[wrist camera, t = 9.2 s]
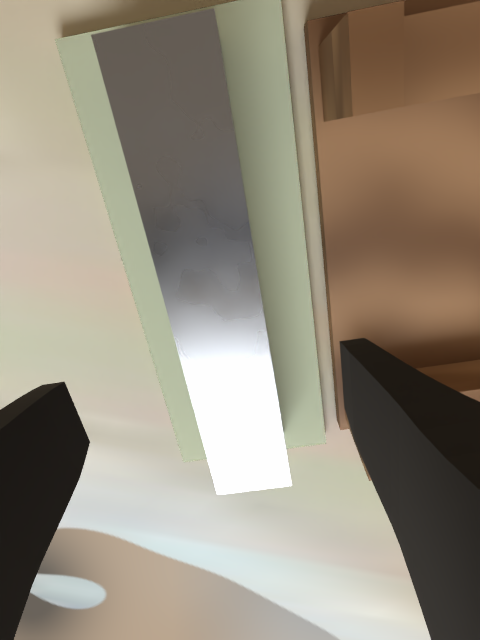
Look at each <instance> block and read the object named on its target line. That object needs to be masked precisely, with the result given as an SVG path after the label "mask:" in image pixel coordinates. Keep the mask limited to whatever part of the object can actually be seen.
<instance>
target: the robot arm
mask: <svg viewBox="0 0 480 640" xmlns="http://www.w3.org/2000/svg"><path fill="white" fill-rule="evenodd" d="M339 342H340V355H341V369H342V382H343V396H344V408H345V411H346V415H347V418H348V422H349V425H350V428H351V431H352V435H353V438H354V441H355V444H356V446H357V448H358V451H359V453H360V455H361V457H362V460H363V462H364V464H365V466H366V469H367V471H368V473H369V475H370V478H371V480H372V482H373V484H374V486H375V489H376V491H377V493H378V495H379V498H380V500H381V502H382V504H383V506H384V509H385V511H386V513H387V515H388V518H389V520H390V522H391V524H392V527H393V529H394V532H395V534H396V537H397V539H398V542H399V544H400V547H401V550H402V553H403V556H404V559H405V562H406V565H407V568H408V570H409V573H410V576H411V579H412V582H413V585H414V588H415V591H416V594H417V597H418V600H419V603H420V606H421V609H422V612H423V615H424V619H425V622H426V625H427V628H428V631H429V634H430V637H431V640H480V402H479V401H477V400H475V399H473V398H470V397H468V396H466V395H464V394H462V393H460V392H458V391H456V390H454V389H452V388H450V387H448V386H446V385H444V384H442V383H440V382H438V381H436V380H435V379H433V378H431V377H429V376H427V375H425V374H424V373H422V372H420V371H418V370H417V369H415V368H413V367H412V366H410V365H408V364H406V363H405V362H403V361H402V360H400V359H398V358H397V357H395V356H393V355H392V354H390V353H389V352H387V351H385V350H384V349H382V348H381V347H379V346H377V345H376V344H374V343H373V342H371V341H369V340H368V339H366V338H358V339H352V340H345V341H339ZM89 443H90V441H89V439H88V436H87V434H86V432H85V429H84V427H83V425H82V422H81V420H80V417H79V415H78V413H77V410H76V408H75V406H74V403H73V401H72V398H71V396H70V394H69V391H68V389H67V387H66V384H65V382H60V383H53V384H46V385H42V386H40V387H38V388H36V389H34V390H32V391H30V392H28V393H27V394H25V395H23V396H21V397H20V398H18V399H17V400H15V401H13V402H12V403H10V404H9V405H7V406H6V407H4V408H3V409H1V410H0V640H14V637H15V634H16V631H17V627H18V625H19V622H20V619H21V616H22V613H23V610H24V607H25V604H26V601H27V599H28V596H29V593H30V590H31V587H32V584H33V582H34V579H35V577H36V575H37V572H38V570H39V567H40V565H41V562H42V560H43V558H44V556H45V553H46V551H47V549H48V547H49V545H50V542H51V540H52V538H53V536H54V534H55V532H56V530H57V527H58V525H59V523H60V521H61V519H62V516H63V514H64V512H65V510H66V508H67V505H68V503H69V501H70V499H71V496H72V494H73V492H74V490H75V487H76V485H77V483H78V480H79V478H80V475H81V472H82V468H83V465H84V462H85V458H86V455H87V451H88V447H89Z"/></svg>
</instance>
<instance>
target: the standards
mask: <svg viewBox="0 0 480 640" xmlns="http://www.w3.org/2000/svg"><path fill="white" fill-rule="evenodd" d="M304 32H305V44H306V56H307V68H308V80H309V92H310V104H311V116H312V127H313V139H314V151H315V163H316V175H317V187H318V199H319V211H320V223H321V235H322V247H323V258H324V270H325V282H326V294H327V306H328V318H329V330H330V342H331V354H332V366H333V377H334V389H335V401H336V413H337V421H338V424H339V427H340V430H344V429H350V431H351V428H350V425H349V422H348V418H347V415H346V411H345V408H344V396H343V382H342V369H341V355H340V342H339V341H345V340H352V339H358V338H366V339H368V340H369V341H371V342H373V343H374V344H376V345H377V346H379V347H381V348H382V349H384V350H385V351H387V352H389V353H390V354H392V355H393V356H395V357H397V358H398V359H400V360H402V361H403V362H405V363H406V364H408V365H410V366H412V367H413V368H415V369H417V370H418V371H420V372H422V373H424V374H425V375H427V376H429V377H431V378H433V379H435V380H436V381H438V382H440V383H442V384H444V385H446V386H448V387H450V388H452V389H454V390H456V391H458V392H460V393H462V394H464V395H466V396H468V397H470V398H473V399H475V400H477V401H479V402H480V0H405V1H404V0H402V1H397V2H392V3H388V4H383V5H378V6H373V7H368V8H363V9H359V10H354V11H349V12H347V13H342V14H338V15H333V16H328V17H323V18H318V19H313V20H309V21H307V22H306V24H305V26H304ZM351 434H352V431H351ZM352 436H353V435H352ZM353 439H354V438H353ZM354 442H355V441H354ZM356 447H357V446H356ZM357 450H358V448H357ZM358 452H359V451H358ZM359 455H360V453H359ZM360 458H361V460H362V457H361V455H360ZM362 463H363V466H364V468H365V471H366V474H367V476H368V479H369V481H371V478H370V475H369V473H368V471H367V469H366V466H365V464H364V462H363V460H362Z"/></svg>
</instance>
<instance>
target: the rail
mask: <svg viewBox="0 0 480 640" xmlns="http://www.w3.org/2000/svg"><path fill="white" fill-rule="evenodd" d="M91 37H92V41H93V44H94V48H95V52H96V55H97V59H98V63H99V66H100V70H101V73H102V77H103V81H104V84H105V88H106V92H107V95H108V99H109V103H110V106H111V110H112V114H113V117H114V121H115V124H116V128H117V132H118V135H119V139H120V143H121V146H122V150H123V154H124V157H125V161H126V165H127V168H128V172H129V175H130V179H131V183H132V186H133V190H134V194H135V197H136V201H137V205H138V208H139V212H140V215H141V219H142V223H143V226H144V230H145V234H146V237H147V241H148V245H149V248H150V252H151V256H152V259H153V263H154V266H155V270H156V274H157V277H158V281H159V285H160V288H161V292H162V296H163V299H164V303H165V307H166V310H167V314H168V317H169V321H170V325H171V328H172V332H173V336H174V339H175V343H176V347H177V350H178V354H179V358H180V361H181V365H182V368H183V372H184V376H185V379H186V383H187V387H188V390H189V394H190V398H191V401H192V405H193V408H194V412H195V416H196V419H197V423H198V427H199V430H200V434H201V438H202V441H203V445H204V449H205V452H206V456H207V459H208V463H209V467H210V470H211V474H212V478H213V481H214V485H215V489H216V492H217V495H222V494H230V493H238V492H246V491H254V490H262V489H270V488H278V487H286V486H292V483H291V476H290V470H289V463H288V456H287V450H286V443H285V436H284V430H283V424H282V418H281V411H280V405H279V399H278V393H277V387H276V380H275V374H274V368H273V362H272V356H271V349H270V343H269V337H268V331H267V325H266V318H265V312H264V306H263V300H262V294H261V287H260V281H259V275H258V269H257V263H256V256H255V250H254V244H253V238H252V232H251V226H250V219H249V213H248V207H247V201H246V195H245V188H244V182H243V176H242V170H241V164H240V157H239V151H238V145H237V139H236V133H235V126H234V120H233V114H232V108H231V102H230V95H229V89H228V83H227V77H226V71H225V64H224V58H223V52H222V46H221V40H220V34H219V29H218V24H217V19H216V14H215V9H214V8H212V9H208V10H203V11H198V12H194V13H189V14H185V15H180V16H175V17H171V18H166V19H161V20H157V21H152V22H148V23H143V24H138V25H134V26H129V27H125V28H120V29H115V30H111V31H106V32H101V33H97V34H92V35H91Z"/></svg>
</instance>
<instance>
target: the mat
mask: <svg viewBox="0 0 480 640" xmlns="http://www.w3.org/2000/svg"><path fill="white" fill-rule="evenodd" d="M212 8H214V9H215V14H216V19H217V24H218V29H219V34H220V40H221V46H222V52H223V58H224V64H225V71H226V77H227V83H228V89H229V95H230V102H231V108H232V114H233V120H234V126H235V133H236V139H237V145H238V151H239V157H240V164H241V170H242V176H243V182H244V188H245V195H246V201H247V207H248V213H249V219H250V226H251V232H252V238H253V244H254V250H255V256H256V263H257V269H258V275H259V281H260V287H261V294H262V300H263V306H264V312H265V318H266V325H267V331H268V337H269V343H270V349H271V356H272V362H273V368H274V374H275V380H276V387H277V393H278V399H279V405H280V411H281V418H282V424H283V430H284V436H285V443H286V449H289V448H297V447H305V446H312V445H320V444H326V438H325V428H324V418H323V408H322V398H321V389H320V379H319V369H318V359H317V349H316V339H315V330H314V320H313V310H312V300H311V290H310V280H309V271H308V261H307V251H306V241H305V231H304V221H303V212H302V202H301V192H300V182H299V172H298V162H297V153H296V143H295V133H294V123H293V113H292V103H291V94H290V84H289V74H288V64H287V54H286V45H285V35H284V25H283V15H282V5H281V0H238V1H233V2H228V3H224V4H219V5H214V6H210V7H205V8H200V9H195V10H191V11H186V12H181V13H177V14H172V15H167V16H163V17H158V18H153V19H148V20H144V21H139V22H134V23H130V24H125V25H120V26H116V27H111V28H106V29H101V30H97V31H92V32H87V33H83V34H78V35H73V36H69V37H64V38H59V39H55V41H56V45H57V48H58V51H59V55H60V58H61V61H62V64H63V68H64V71H65V74H66V78H67V81H68V84H69V87H70V91H71V94H72V97H73V100H74V104H75V107H76V110H77V114H78V117H79V120H80V123H81V127H82V130H83V133H84V137H85V140H86V143H87V146H88V150H89V153H90V156H91V160H92V163H93V166H94V169H95V173H96V176H97V179H98V183H99V186H100V189H101V192H102V196H103V199H104V202H105V206H106V209H107V212H108V215H109V219H110V222H111V225H112V229H113V232H114V235H115V238H116V242H117V245H118V248H119V251H120V255H121V258H122V261H123V265H124V268H125V271H126V274H127V278H128V281H129V284H130V288H131V291H132V294H133V297H134V301H135V304H136V307H137V311H138V314H139V317H140V320H141V324H142V327H143V330H144V334H145V337H146V340H147V343H148V347H149V350H150V353H151V357H152V360H153V363H154V366H155V370H156V373H157V376H158V380H159V383H160V386H161V389H162V393H163V396H164V399H165V402H166V406H167V409H168V412H169V416H170V419H171V422H172V425H173V429H174V432H175V435H176V439H177V442H178V445H179V448H180V452H181V455H182V458H183V462H190V461H197V460H205V459H207V456H206V452H205V449H204V445H203V441H202V438H201V434H200V430H199V427H198V423H197V419H196V416H195V412H194V408H193V405H192V401H191V398H190V394H189V390H188V387H187V383H186V379H185V376H184V372H183V368H182V365H181V361H180V358H179V354H178V350H177V347H176V343H175V339H174V336H173V332H172V328H171V325H170V321H169V317H168V314H167V310H166V307H165V303H164V299H163V296H162V292H161V288H160V285H159V281H158V277H157V274H156V270H155V266H154V263H153V259H152V256H151V252H150V248H149V245H148V241H147V237H146V234H145V230H144V226H143V223H142V219H141V215H140V212H139V208H138V205H137V201H136V197H135V194H134V190H133V186H132V183H131V179H130V175H129V172H128V168H127V165H126V161H125V157H124V154H123V150H122V146H121V143H120V139H119V135H118V132H117V128H116V124H115V121H114V117H113V114H112V110H111V106H110V103H109V99H108V95H107V92H106V88H105V84H104V81H103V77H102V73H101V70H100V66H99V63H98V59H97V55H96V52H95V48H94V44H93V41H92V37H91V35H92V34H97V33H101V32H106V31H111V30H115V29H120V28H125V27H129V26H134V25H138V24H143V23H148V22H152V21H157V20H161V19H166V18H171V17H175V16H180V15H185V14H189V13H194V12H198V11H203V10H208V9H212Z"/></svg>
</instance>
